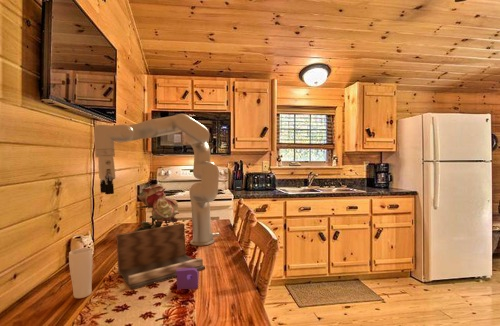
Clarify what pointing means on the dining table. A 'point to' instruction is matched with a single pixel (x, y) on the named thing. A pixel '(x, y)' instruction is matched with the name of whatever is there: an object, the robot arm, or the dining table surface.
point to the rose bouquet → (158, 207)
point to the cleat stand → (153, 255)
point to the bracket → (187, 278)
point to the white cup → (81, 271)
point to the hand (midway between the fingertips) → (107, 193)
